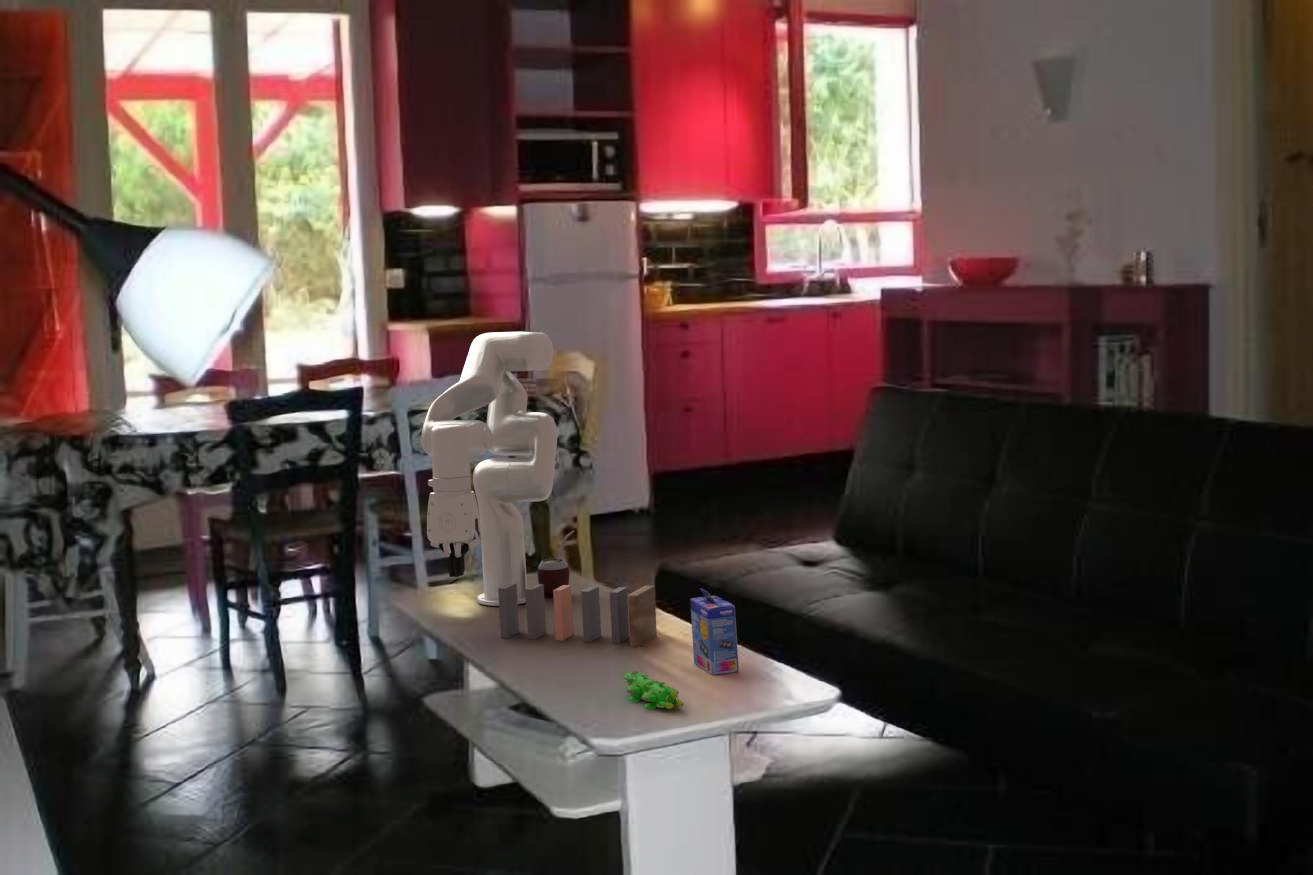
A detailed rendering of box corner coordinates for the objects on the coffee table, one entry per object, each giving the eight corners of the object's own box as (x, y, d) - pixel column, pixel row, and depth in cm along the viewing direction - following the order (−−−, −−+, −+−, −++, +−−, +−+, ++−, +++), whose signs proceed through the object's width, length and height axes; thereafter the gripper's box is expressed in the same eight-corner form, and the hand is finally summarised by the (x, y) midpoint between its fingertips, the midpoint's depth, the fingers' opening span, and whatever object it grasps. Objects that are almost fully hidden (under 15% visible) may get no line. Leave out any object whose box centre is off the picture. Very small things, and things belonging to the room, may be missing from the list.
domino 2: (528, 638, 312) (525, 589, 311) (538, 632, 317) (536, 584, 316) (535, 639, 312) (532, 589, 310) (546, 633, 316) (543, 584, 315)
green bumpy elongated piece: (645, 687, 273) (644, 663, 273) (696, 711, 257) (695, 685, 257) (611, 693, 270) (610, 669, 270) (660, 718, 254) (659, 692, 254)
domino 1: (500, 637, 314) (498, 588, 313) (512, 631, 319) (509, 583, 318) (508, 637, 314) (505, 588, 313) (519, 632, 318) (516, 583, 317)
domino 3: (555, 640, 310) (553, 590, 309) (566, 634, 315) (563, 584, 314) (563, 640, 309) (560, 590, 308) (573, 634, 314) (570, 585, 313)
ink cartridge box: (691, 663, 287) (688, 585, 286) (719, 659, 289) (716, 582, 288) (710, 676, 278) (707, 595, 277) (739, 672, 280) (736, 591, 278)
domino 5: (612, 642, 306) (609, 592, 305) (621, 636, 310) (619, 586, 309) (619, 643, 305) (617, 592, 304) (629, 637, 310) (627, 587, 309)
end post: (630, 646, 302) (627, 595, 301) (647, 635, 310) (645, 585, 309) (640, 646, 301) (637, 595, 300) (656, 635, 310) (654, 585, 309)
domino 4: (583, 641, 308) (581, 591, 307) (593, 635, 312) (591, 585, 311) (591, 641, 307) (588, 591, 306) (601, 635, 312) (598, 586, 311)
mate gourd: (535, 594, 354) (532, 528, 353) (569, 590, 357) (566, 525, 355) (543, 600, 347) (539, 533, 346) (578, 597, 350) (574, 530, 348)
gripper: (410, 487, 316) (414, 578, 318) (476, 487, 311) (481, 580, 312) (428, 483, 323) (433, 571, 324) (494, 483, 318) (498, 573, 319)
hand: (456, 575), depth 318 cm, fingers closed
